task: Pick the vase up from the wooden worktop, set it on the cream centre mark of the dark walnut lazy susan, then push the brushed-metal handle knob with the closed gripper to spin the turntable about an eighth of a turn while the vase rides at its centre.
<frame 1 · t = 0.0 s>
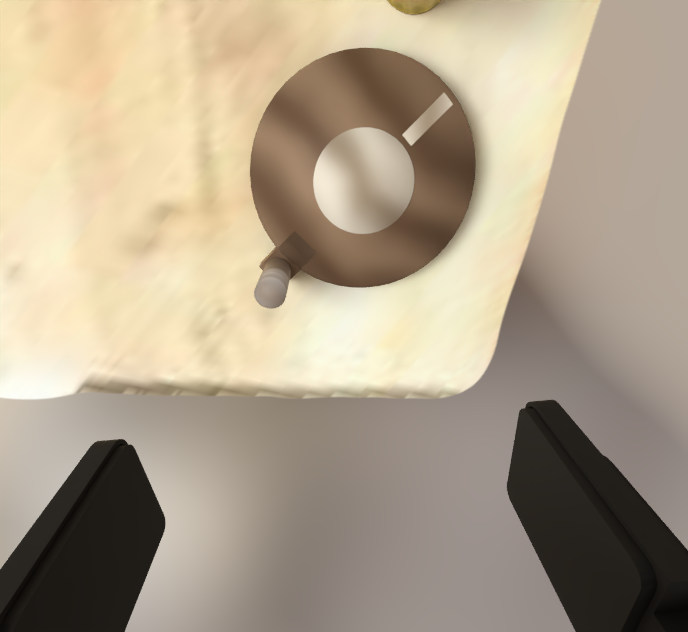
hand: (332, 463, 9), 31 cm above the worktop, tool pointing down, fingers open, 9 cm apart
turntable: (357, 200, 32), point 5 cm above the worktop, hinge at 0.0°
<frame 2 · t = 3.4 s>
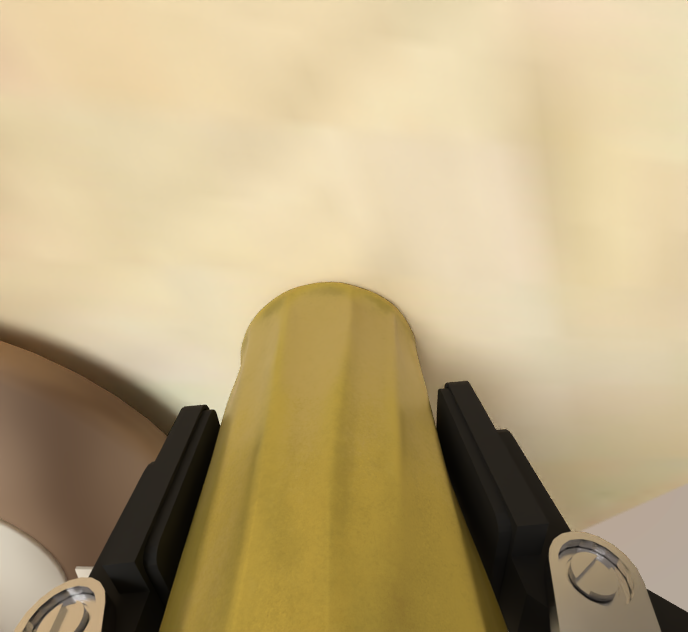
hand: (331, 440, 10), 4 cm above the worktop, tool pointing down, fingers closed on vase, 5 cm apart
vase: (329, 356, 14), on the worktop, touching gripper
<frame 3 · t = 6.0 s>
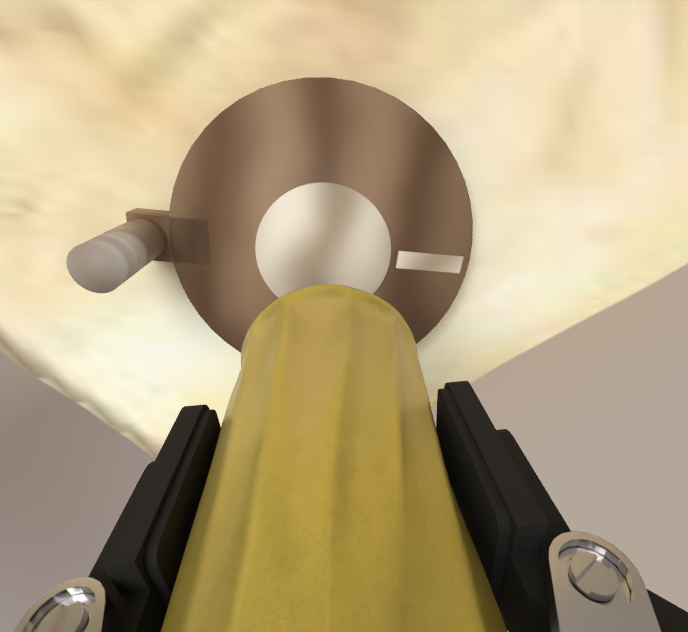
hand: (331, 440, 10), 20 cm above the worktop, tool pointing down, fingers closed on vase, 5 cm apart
vase: (329, 358, 14), point 16 cm above the worktop, touching gripper
turntable: (302, 265, 23), point 5 cm above the worktop, hinge at 0.0°
when the fingers open (7 cm above the worktop, at t = 8.7 s): vase stays where it is, resting on turntable.
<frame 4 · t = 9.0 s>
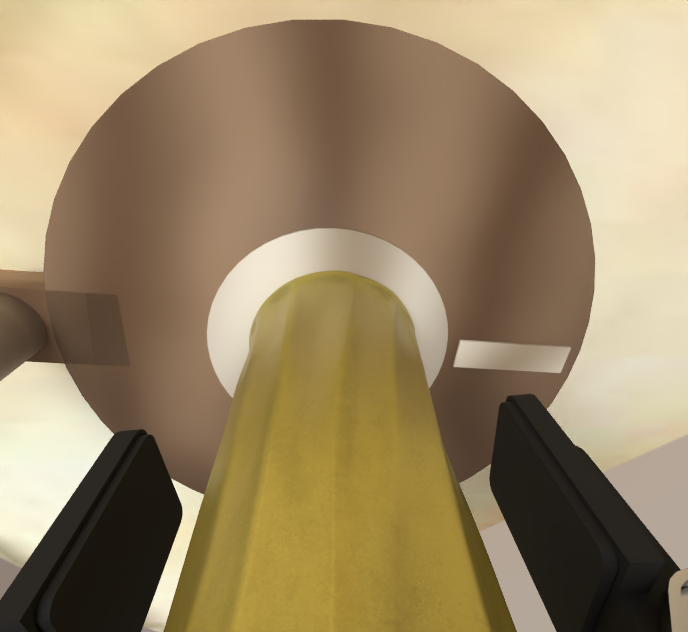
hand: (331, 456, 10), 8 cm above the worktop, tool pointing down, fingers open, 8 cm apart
vase: (332, 343, 14), point 3 cm above the worktop, touching turntable
turntable: (290, 383, 12), point 5 cm above the worktop, hinge at 0.0°, touching vase
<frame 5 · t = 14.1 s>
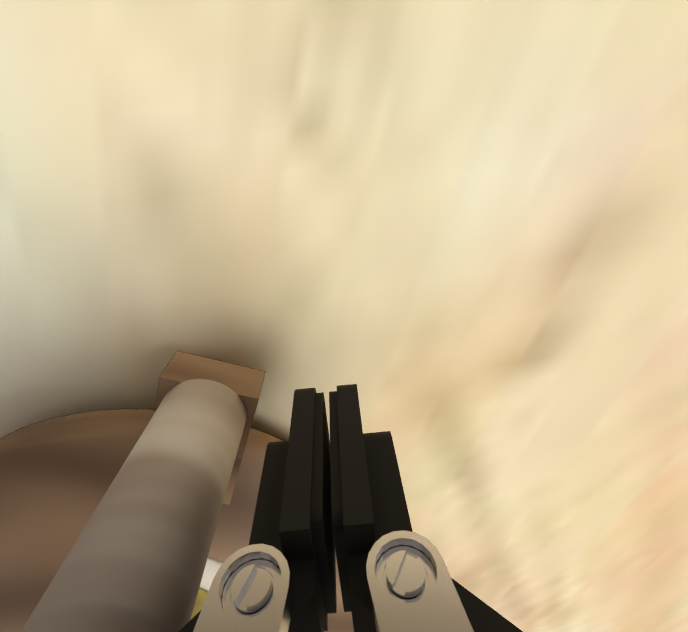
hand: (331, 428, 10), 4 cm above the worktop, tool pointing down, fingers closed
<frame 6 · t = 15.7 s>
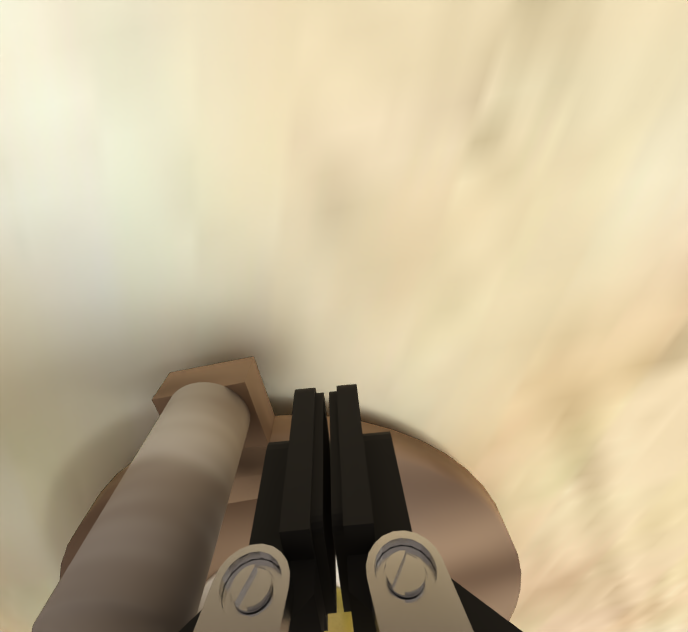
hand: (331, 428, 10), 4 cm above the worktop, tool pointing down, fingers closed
vase: (301, 614, 17), point 3 cm above the worktop, touching turntable
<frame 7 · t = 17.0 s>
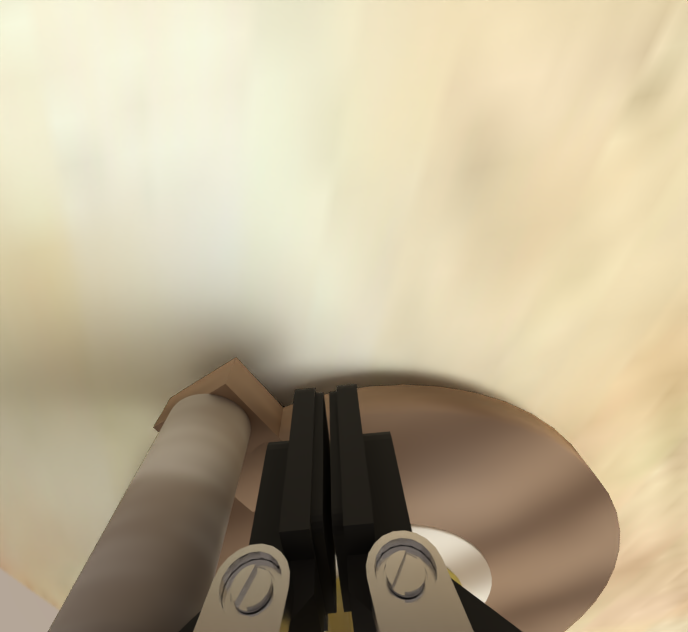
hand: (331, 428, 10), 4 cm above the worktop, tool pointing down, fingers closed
vase: (391, 591, 17), point 3 cm above the worktop, touching turntable
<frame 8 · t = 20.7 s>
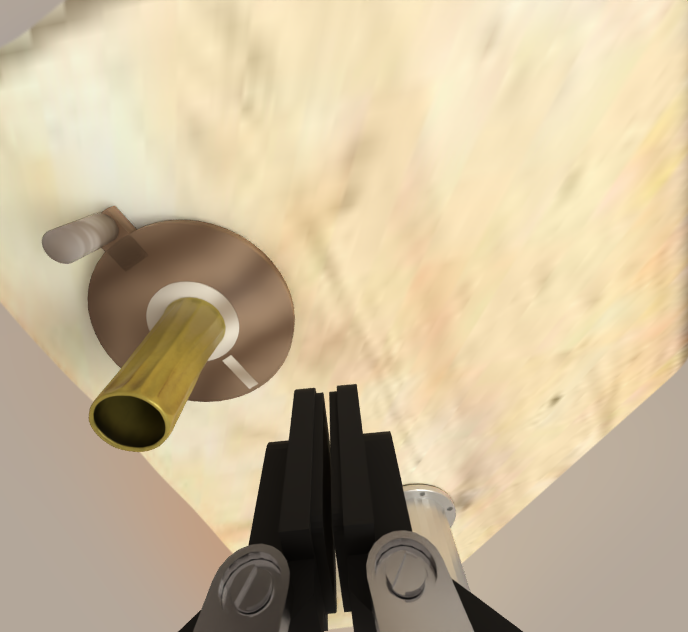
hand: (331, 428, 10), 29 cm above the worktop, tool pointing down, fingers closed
vase: (195, 323, 38), point 3 cm above the worktop, touching turntable
turntable: (175, 325, 36), point 5 cm above the worktop, hinge at 51.0°, touching vase
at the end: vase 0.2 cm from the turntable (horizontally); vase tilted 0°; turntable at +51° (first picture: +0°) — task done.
